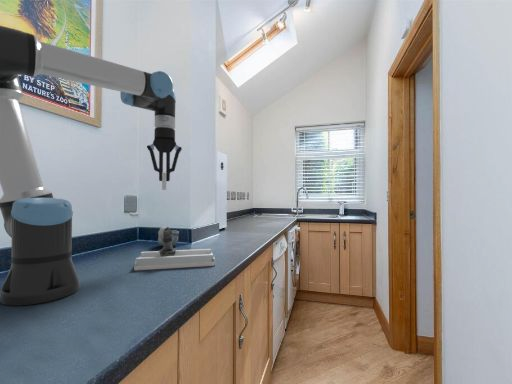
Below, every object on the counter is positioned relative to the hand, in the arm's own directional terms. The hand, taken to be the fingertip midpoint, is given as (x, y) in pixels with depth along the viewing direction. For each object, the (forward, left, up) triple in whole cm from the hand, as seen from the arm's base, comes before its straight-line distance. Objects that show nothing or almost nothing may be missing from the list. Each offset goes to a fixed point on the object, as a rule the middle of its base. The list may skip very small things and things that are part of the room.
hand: (164, 189), depth 105 cm
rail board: (+5, -9, -26) cm, 28 cm away
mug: (0, +24, -27) cm, 36 cm away
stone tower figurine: (+2, -9, -25) cm, 27 cm away
